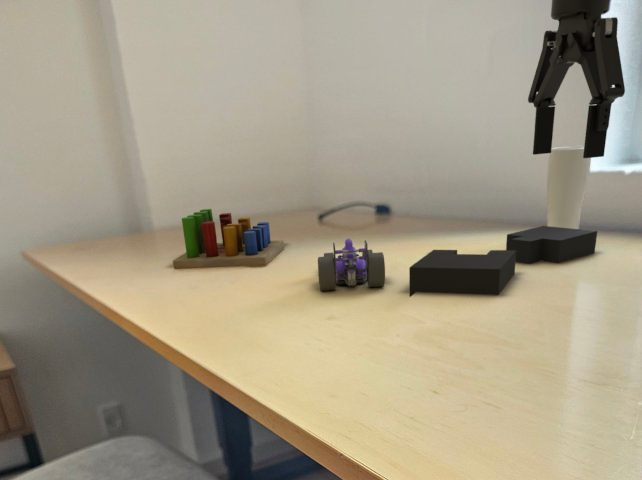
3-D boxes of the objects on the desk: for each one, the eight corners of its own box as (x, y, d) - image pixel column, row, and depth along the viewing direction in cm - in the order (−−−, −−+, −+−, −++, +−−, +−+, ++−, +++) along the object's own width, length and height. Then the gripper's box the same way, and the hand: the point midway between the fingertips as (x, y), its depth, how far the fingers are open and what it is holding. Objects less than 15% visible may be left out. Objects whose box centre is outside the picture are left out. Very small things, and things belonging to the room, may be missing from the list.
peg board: (266, 266, 116) (261, 215, 112) (173, 270, 119) (164, 221, 115) (284, 247, 131) (280, 202, 127) (201, 251, 134) (195, 207, 130)
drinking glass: (555, 234, 122) (563, 146, 116) (589, 237, 118) (600, 145, 111) (534, 240, 119) (541, 149, 112) (568, 243, 114) (578, 149, 107)
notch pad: (409, 296, 90) (409, 267, 89) (433, 276, 100) (433, 249, 98) (498, 300, 85) (500, 269, 84) (514, 278, 95) (516, 250, 93)
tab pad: (493, 262, 105) (494, 237, 103) (541, 250, 111) (543, 225, 109) (545, 271, 97) (548, 243, 96) (594, 257, 103) (597, 231, 101)
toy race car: (376, 267, 108) (375, 226, 105) (385, 289, 95) (384, 243, 92) (319, 272, 109) (316, 231, 106) (319, 294, 95) (316, 248, 92)
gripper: (511, -1, 98) (502, 154, 107) (616, -38, 76) (593, 161, 86) (557, -4, 99) (544, 150, 109) (673, -41, 77) (644, 156, 87)
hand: (566, 155), depth 97 cm, fingers open, 13 cm apart
